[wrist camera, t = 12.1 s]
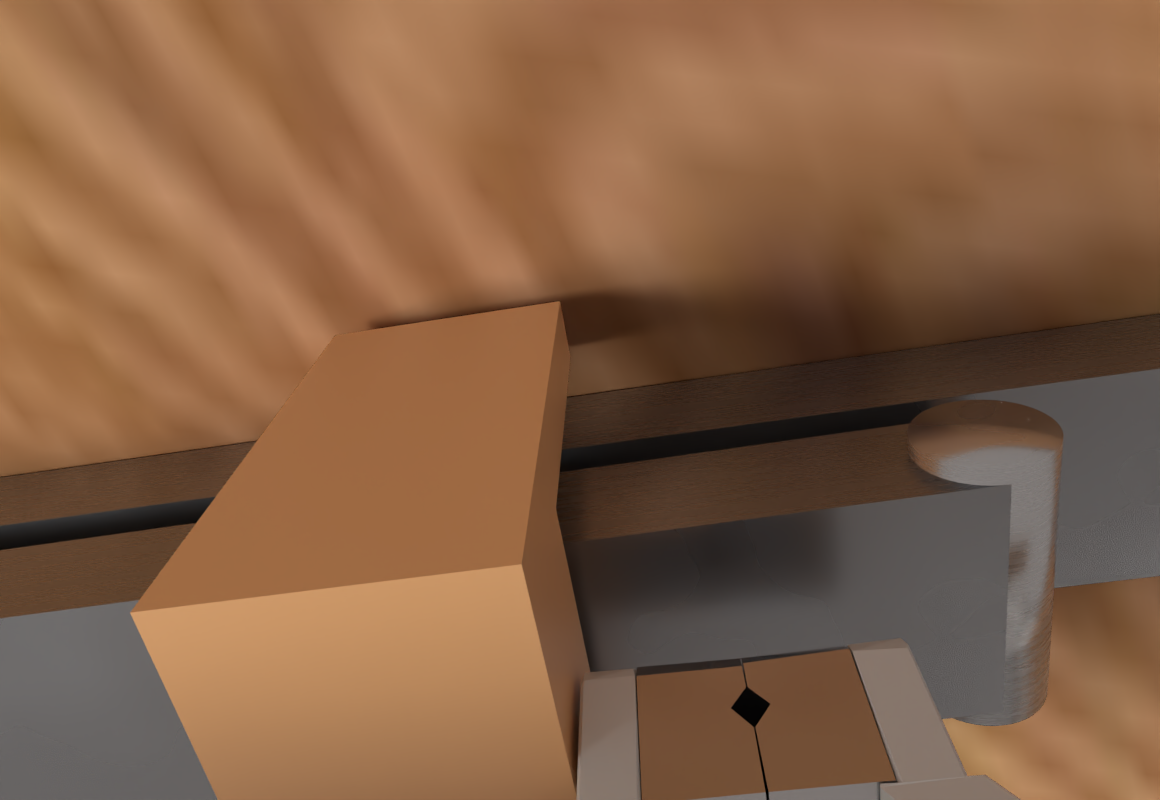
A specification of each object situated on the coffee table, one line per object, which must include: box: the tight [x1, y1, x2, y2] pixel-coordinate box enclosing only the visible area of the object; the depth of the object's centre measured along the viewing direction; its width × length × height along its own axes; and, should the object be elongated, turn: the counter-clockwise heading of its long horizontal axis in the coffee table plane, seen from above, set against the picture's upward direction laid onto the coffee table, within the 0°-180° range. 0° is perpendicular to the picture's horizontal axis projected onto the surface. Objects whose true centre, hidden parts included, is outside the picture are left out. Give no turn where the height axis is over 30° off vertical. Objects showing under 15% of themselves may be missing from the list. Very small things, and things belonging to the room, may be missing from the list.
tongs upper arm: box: [0, 400, 1064, 800], centre depth 11 cm, size 23×3×2 cm, turn 100°
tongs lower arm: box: [0, 314, 1160, 588], centre depth 13 cm, size 28×3×2 cm, turn 100°
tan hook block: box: [130, 301, 590, 800], centre depth 11 cm, size 3×6×6 cm, turn 9°
